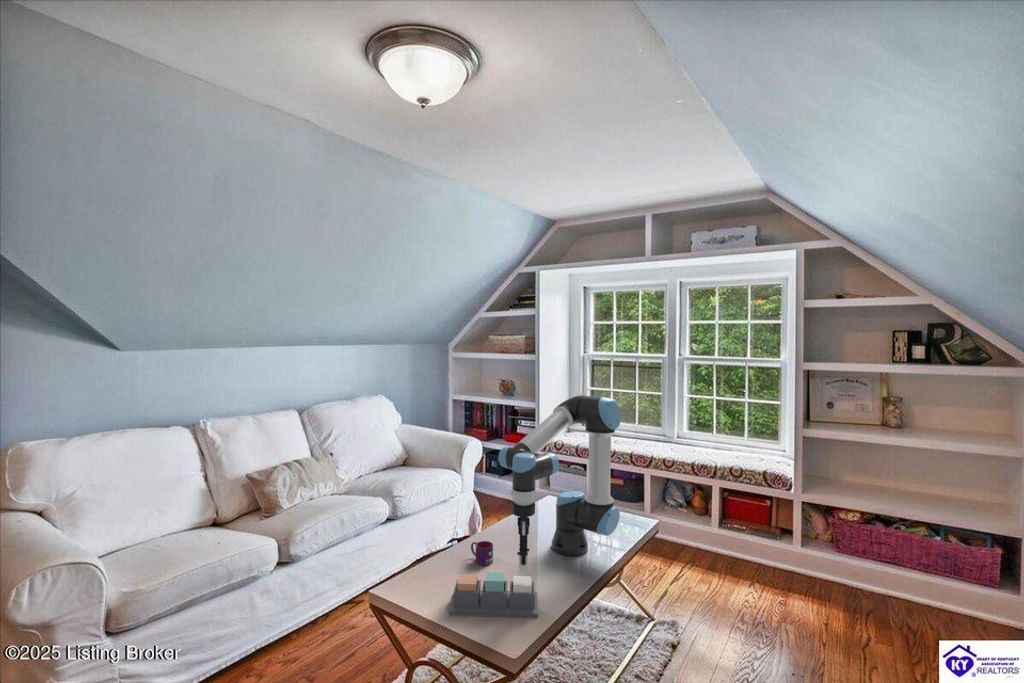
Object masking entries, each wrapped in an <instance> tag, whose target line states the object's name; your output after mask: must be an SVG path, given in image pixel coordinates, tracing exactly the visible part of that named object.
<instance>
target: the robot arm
mask: <svg viewBox="0 0 1024 683" xmlns="http://www.w3.org/2000/svg"><path fill="white" fill-rule="evenodd" d="M621 422H622V412H621V407H620V405H619V403H618V401H616V400H615V399H613V398H609V397H603V396H594V395H593V396H591V395H583V394H581V395H576V396H572V397H570V398H568V399H566V400H563V402H561V403H559V404H558V405H557V406H556V407H555V408H553V411H552V413H551V414H550V415H549V416H548V417H547V418H546V419H544V420H543V421H541V423H540V424H538V425H537V426H536V427H535V428H533V429H532V431H530V432H529V433H527V434H526V435H525V436H524V437H523V438H522V439H521V440H520V441H518V442H517V443H516V444H515V445H514V446H504V447H502V448H501V449H500V451H499V452H498V456H497V457H498V463H499V465H500V466H501V467H503V468H505V469H508V470H512V491H510V494H511V495H512V496H511V497H512V504H511V507H512V508H511V509H512V510H511V512H512V514H513V515H514V516H515V517H517V530H518V531H517V532H518V535H519V545H518V547H519V551H517V556H519V557H518V561H519V562H518V573H519V575H522V574H523V575H527V574H528V553H529V552H530V548H528V535H529V534H530V526H531V525H530V524H531V522H530V517H533V516H534V515H535V514H536V502H535V501H536V481H538V480H540V479H543V478H547V477H551V476H552V475H554V474H556V473H557V472H558V471H559V468H560V462H559V461H560V460H559V459H558V457H557V455H556V454H554V453H553V452H544V453H539V452H540V451H541V450H542V449H544V448H545V447H546V446H547V445H548V444H550V443H551V441H553V439H555V437H556V436H558V435H559V434H560V433H562V431H563V430H564V429H568V428H570V427H572V426H573V425H575V424H577V425H578V424H581V425H585V426H584V427H585V432H586V433H587V434H588V482H587V483H588V486H587V487H588V488H587V489H588V492H587V494H586V495H585V493H584V492H582V491H577V490H573V491H563V492H561V493H559V494H558V495H557V496H556V504H555V507H556V508H555V510H556V511H555V513H556V514H555V518H556V519H555V531H554V533H553V536H552V539H551V549H552V551H553V552H555V553H557V554H559V555H562V556H567V557H569V556H570V557H575V556H576V557H577V556H582V555H585V554H586V553H587V552H588V549H589V542H588V540H587V537H586V533H585V531H587V532H591V533H595V534H596V535H602V536H604V537H605V536H610V535H612V534H613V533H614V532H615V531H616V530H617V527H618V524H619V521H620V517H621V516H620V515H621V514H620V509H619V507H617V506H616V505H615V501H614V500H615V499H614V497H612V495H611V469H612V468H611V466H612V465H611V464H612V463H611V458H612V457H611V456H612V455H611V454H612V453H611V452H612V450H611V449H612V435H613V434H615V432H616V429H618V428H619V427H620V425H621Z"/></svg>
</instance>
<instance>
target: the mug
mask: <svg viewBox="0 0 1024 683" xmlns="http://www.w3.org/2000/svg"><path fill="white" fill-rule="evenodd" d="M474 545H475V550H474ZM470 550H471V552H472V555H474V557H475V564H476V565H477V566H481V567H485V566H486V567H487V566H490V565H492V564H493V562H494V558H493V557H494V543H493V542H491V541H488V540H481V541H478V542H477V541H476V542H475V541H474V542H473V541H472V543H471V544H470Z"/></svg>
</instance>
